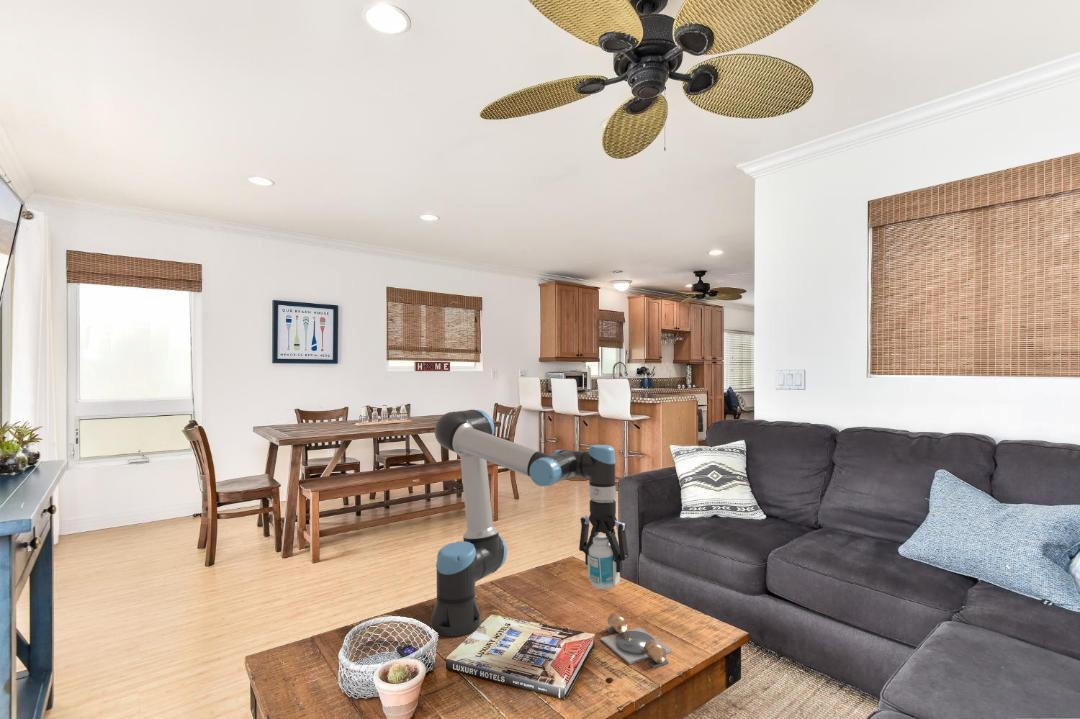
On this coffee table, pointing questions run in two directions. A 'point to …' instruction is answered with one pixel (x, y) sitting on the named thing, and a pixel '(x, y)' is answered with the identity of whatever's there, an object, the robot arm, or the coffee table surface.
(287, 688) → the coffee table surface
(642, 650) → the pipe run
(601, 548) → the pill bottle
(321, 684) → the coffee table surface
